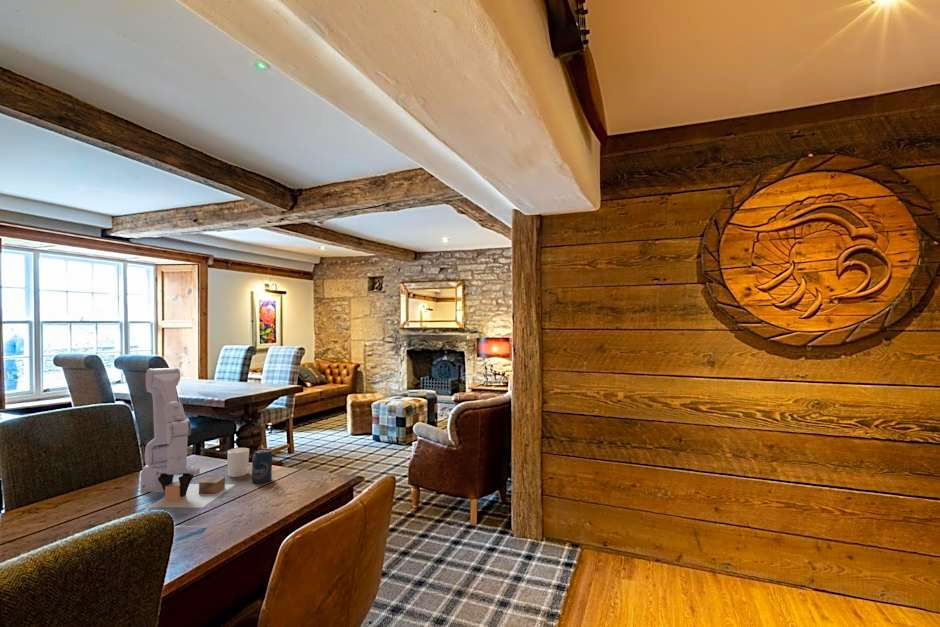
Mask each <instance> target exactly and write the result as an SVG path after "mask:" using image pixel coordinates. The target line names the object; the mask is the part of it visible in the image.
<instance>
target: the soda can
mask: <svg viewBox="0 0 940 627" xmlns="http://www.w3.org/2000/svg"><path fill="white" fill-rule="evenodd" d="M251 465H252V466H251V481H252V483H253V484H255V485H258V484H259V485H260V484H267V483H269V482H270V481H271V480H272V477H273V476H272V475H273V471H272V470H273V453H272V450H271V449H269V448H261V449H256V450H255V451H254V453H253V455H252V464H251Z"/></svg>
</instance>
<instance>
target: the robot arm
mask: <svg viewBox="0 0 940 627" xmlns="http://www.w3.org/2000/svg"><path fill="white" fill-rule="evenodd" d="M180 380H181V370H180V369H179V367H176V366H175V367H162V368H161V367H160V368H148V369H147V370H146V371H145V388H146V392H147V393H150V394H151V397H152V414H153V415H152V416H153V438H152V439H151V440H150V441H148V442H147V444H145V449H144V450H145V451H144V463H145V465H144V466H143V467H142V469H141V471H140V472H141V473H140V481H139V482H140V487H139V490H138V492H142V493H143V492H147V493H148V492H149V493H150V492H152V493H155V492H157V493H160V492H162V493H164V494H165V486H167V485H169V484H171V483H173V482H174V476H178V475H180V476H178V482H180V497H183V496H185V495H186V493H187V489H188V486H189V484H191V482H192V479H193V478H194V476H197V475H198V476H199V475H200V470H201V468H200V467H192V466H188V464H187V463H188V462H187V460H188V438H189V437H188V436H190V435H191V431H192V424H191V421H190V420H191V419H190V418H188V416H186V414H185V409H184V406H183V405H184V404H183V403H181V402H179V401H178V392H177V387H178V385H179V382H180Z"/></svg>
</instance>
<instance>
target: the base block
mask: <svg viewBox="0 0 940 627" xmlns="http://www.w3.org/2000/svg"><path fill="white" fill-rule="evenodd" d="M198 484H199V494H217V493H218V492H220V491H221V490H223V489H224V488H225V484H226V477H225V476H207V477H206V478H204V479H203V480H201V481H199V482H198Z"/></svg>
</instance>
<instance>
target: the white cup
mask: <svg viewBox="0 0 940 627" xmlns="http://www.w3.org/2000/svg"><path fill="white" fill-rule="evenodd" d="M226 454H227V475H228V476H229V477H230V478H237V477H243V476H245V475H247V474H248V467H249V458H250V448H247V447H235V448H231V449H228V450H227V451H226Z"/></svg>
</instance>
